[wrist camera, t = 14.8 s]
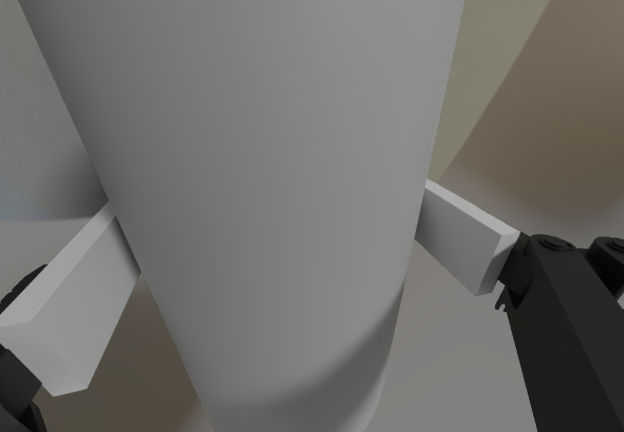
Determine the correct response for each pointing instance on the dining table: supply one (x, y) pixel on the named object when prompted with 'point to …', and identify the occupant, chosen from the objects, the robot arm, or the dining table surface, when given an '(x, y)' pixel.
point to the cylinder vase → (263, 181)
